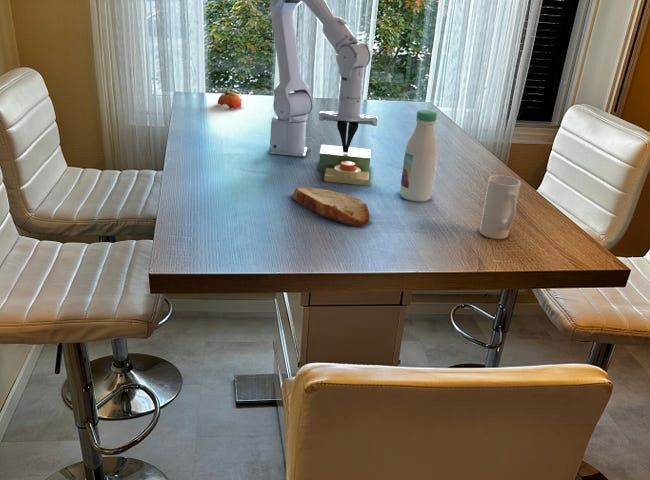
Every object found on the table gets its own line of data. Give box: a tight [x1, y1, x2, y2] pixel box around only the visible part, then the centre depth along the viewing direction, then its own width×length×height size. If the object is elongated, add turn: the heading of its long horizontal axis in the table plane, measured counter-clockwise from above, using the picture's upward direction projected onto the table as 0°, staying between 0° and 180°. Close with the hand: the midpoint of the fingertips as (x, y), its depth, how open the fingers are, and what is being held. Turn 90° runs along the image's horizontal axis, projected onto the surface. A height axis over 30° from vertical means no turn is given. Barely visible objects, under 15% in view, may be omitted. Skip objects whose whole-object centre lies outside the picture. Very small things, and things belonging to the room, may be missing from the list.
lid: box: [319, 144, 372, 161], centre depth 181 cm, size 8×13×1 cm, turn 88°
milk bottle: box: [399, 109, 439, 202], centre depth 165 cm, size 8×8×20 cm
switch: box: [340, 161, 355, 171], centre depth 174 cm, size 4×4×2 cm
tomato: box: [217, 90, 243, 110], centre depth 228 cm, size 8×7×7 cm
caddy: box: [318, 154, 371, 173], centre depth 183 cm, size 7×13×4 cm, turn 88°
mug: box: [479, 174, 522, 240], centre depth 149 cm, size 10×7×12 cm, turn 15°
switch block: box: [323, 165, 370, 186], centre depth 176 cm, size 11×7×3 cm, turn 88°
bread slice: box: [291, 187, 370, 227], centre depth 156 cm, size 18×18×4 cm
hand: (345, 151), depth 180 cm, fingers closed
